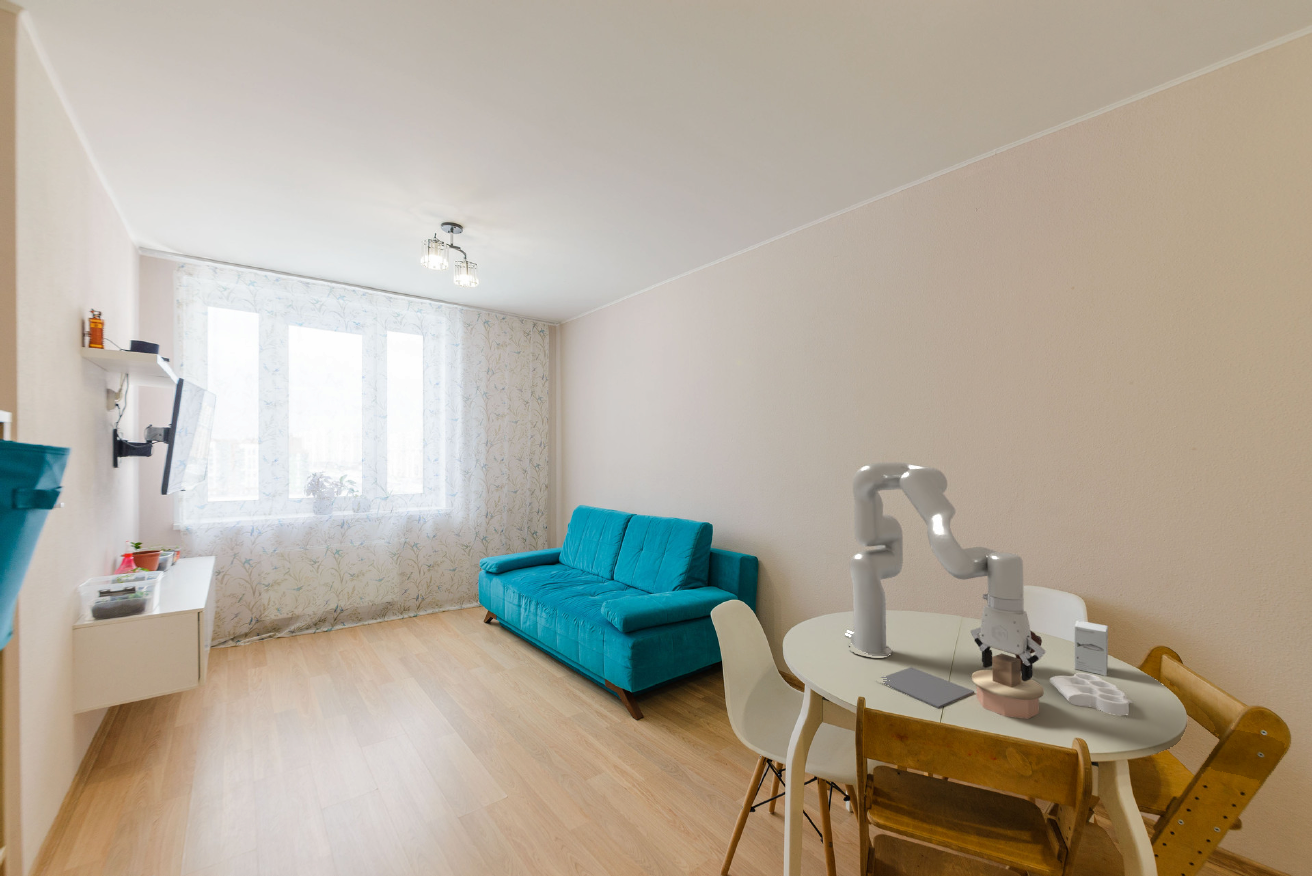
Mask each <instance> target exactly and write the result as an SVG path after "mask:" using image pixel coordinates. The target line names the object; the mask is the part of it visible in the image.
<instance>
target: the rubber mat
mask: <svg viewBox="0 0 1312 876" xmlns="http://www.w3.org/2000/svg"><path fill="white" fill-rule="evenodd" d="M885 676H886V677H884V676H881V677H880V678H887V679H883V680H887V681H883V682H885V683H884V684H886V685H889V686H890V687H892V688H894V689H896V690H895V691H897V690H898V691H897V692H899V691H900V692H899V693H901V692H902V694H904V693H905V694H904V695H906V694H907V696H908V695H909V696H908V697H910V698H912V699H913V698H914V700H918V701H920V702H922V703H924V704H927V705H929V706H931V707H934V708H936V709H940V708H943V707H945V706H947V705H950V704H952V703H954V702H957V701H959V700H961V699H964V698H966V697H969V696H971V695H973V694H975V690H972V689H970V688H968V687H965V686H962V685H959V684H957V683H955V682H951V681H950V680H949V681H948V680H946V679H944V678H941V677H938V676H936V675H933V674H931V673H928V672H926V671H923V670H920V669H918V668H915V667H912V666H911V667H908V668H905V669H902V670H899V671H897V672H896V671H895V672H894V673H890V674H887V675H885ZM889 680H890V681H889ZM890 687H889V688H890ZM892 688H891V689H892ZM894 689H893V690H894Z"/></svg>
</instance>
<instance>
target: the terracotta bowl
mask: <svg viewBox="0 0 1312 876" xmlns="http://www.w3.org/2000/svg"><path fill="white" fill-rule="evenodd" d="M976 699H977V701H978V702H979V704H980V705H981V706H982V707H983V709H986V710H989V711H990V712H993V713H996V714H999V715H1000V716H1001V715H1002V716H1003V717H1009V718H1010V717H1011V718H1019V719H1030V718H1033V717H1035V716H1036V715H1039V714H1040V698H1037V699H1031V700H1023V699H1013V698H1008V697H1003V696H999V695H996V694H993V693H990V692H988V691H985V690H983V689H981V688H979V687H978V686H976Z"/></svg>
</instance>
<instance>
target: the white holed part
mask: <svg viewBox="0 0 1312 876" xmlns="http://www.w3.org/2000/svg"><path fill="white" fill-rule="evenodd" d="M1049 682H1050V684H1051V685H1052V686H1054V687H1055V689H1057V690H1058V693H1060V694H1061V695H1062V696H1063V697H1064V698H1065V699H1066V701H1068V702H1069V704H1071V705H1074V706H1079V707H1088V706H1090V707H1089V708H1093V709H1096V708H1097V710H1098V709H1099V710H1098V711H1100V710H1101V711H1100V712H1102V711H1103V712H1102V713H1105V712H1106V713H1105V714H1108V713H1111V714H1115V715H1114V716H1116V715H1126V714H1128V713H1129V712H1130V711H1129V710H1130V708H1129V704H1131V703H1133V700H1131V699H1129V698H1127V697H1126V694H1125V692H1124V691H1121V690H1119V688H1118V686H1117V685H1115V684H1113V683H1111V682H1108V681H1105V680H1103V679H1102V678H1101V677H1100V676H1098V675H1095V674H1090V673H1084V672H1077V673H1074V674H1073V675H1071V676H1070V675H1069V676H1068V675H1055V676H1052V677H1050V678H1049ZM1111 714H1110V715H1111ZM1129 714H1130V713H1129ZM1129 714H1128V715H1129Z"/></svg>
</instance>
